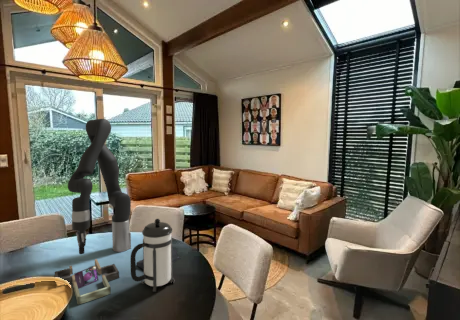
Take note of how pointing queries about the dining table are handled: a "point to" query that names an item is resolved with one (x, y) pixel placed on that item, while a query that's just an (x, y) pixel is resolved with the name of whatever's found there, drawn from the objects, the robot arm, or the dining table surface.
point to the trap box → (107, 275)
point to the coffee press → (155, 255)
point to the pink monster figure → (85, 276)
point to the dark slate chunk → (174, 258)
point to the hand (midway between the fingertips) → (81, 253)
